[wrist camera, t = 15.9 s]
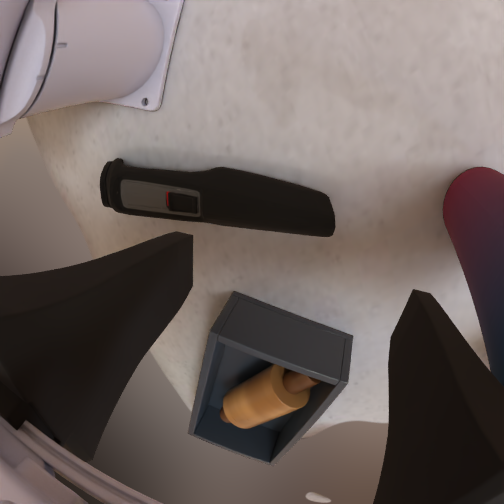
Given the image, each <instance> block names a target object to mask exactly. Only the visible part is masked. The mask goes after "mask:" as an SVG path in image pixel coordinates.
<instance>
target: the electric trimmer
mask: <svg viewBox="0 0 504 504" xmlns="http://www.w3.org/2000/svg"><path fill="white" fill-rule="evenodd" d="M100 191H101V199H102V203H103V205H104V206H105V207H110V208H113V209H114V210H115V211H116V212H118V213H124V214H128V215H136V216H144V217H154V218H163V219H172V220H181V221H192V222H204V223H211V224H216V225H222V226H230V227H239V228H248V229H257V230H265V231H274V232H282V233H290V234H300V235H309V236H320V237H330V236H332V235H333V233H334V230H335V215H334V211H333V208H332V205H331V202H330V199H329V197H328V196H327V195H326V194H324V193H322V192H319V191H316V190H313V189H310V188H306V187H303V186H300V185H296V184H293V183H289V182H285V181H281V180H277V179H273V178H269V177H266V176H262V175H257V174H253V173H249V172H245V171H241V170H235V169H230V168H225V167H218V168H214V169H211V170H208V171H200V172H181V171H170V170H159V169H147V168H137V167H130V166H125V165H124V164H123V160H122V159H119V158H117V159H115V160H114V161H109V162H107V163H106V165H105V166H104V168H103V171H102V173H101V177H100Z"/></svg>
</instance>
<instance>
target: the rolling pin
mask: <svg viewBox="0 0 504 504" xmlns="http://www.w3.org/2000/svg"><path fill="white" fill-rule="evenodd" d="M320 382H321V380H318V379H315V378H312V377H309V376H307V375H304V374H301V373H298V372H295V371H292V370H290V369H287V368H284V367H282V366H279V365H276V364H273V365H271V366H270V367H268V368H266V369H265V370H263V371H261V372H260V373H258V374H256V375H254V376H253V377H251V378H249V379H247V380H246V381H244V382H242V383H240V384H239V385H237V386H235V387H233V388H231V389H230V390H228V391H227V393H226V394H225V396H224V399H223V407H221V409H220V412H219V414H220V417H221V419H222V420H223V421H224V422H226V423H232V424H234V425H235V426H237V427H239V428H243V429H248V428H252V427H255V426H257V425H260V424H263V423H265V422H268V421H270V420H273V419H275V418H278V417H280V416H283V415H285V414H288V413H290V412H292V411H295V410H297V409H299V408H302V407H303V406H305V405H306V404H307V402H308V400H309V397H310V387H312V386H314V385H316V384H318V383H320Z"/></svg>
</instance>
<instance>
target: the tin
mask: <svg viewBox="0 0 504 504" xmlns="http://www.w3.org/2000/svg"><path fill="white" fill-rule="evenodd" d="M352 342H353V336H352V335H349V334H346V333H343V332H341V331H338V330H335V329H332V328H330V327H327V326H324V325H321V324H319V323H316V322H313V321H311V320H308V319H305V318H303V317H300V316H297V315H295V314H292V313H289V312H287V311H284V310H281V309H279V308H276V307H274V306H271V305H268V304H266V303H263V302H261V301H258V300H256V299H253V298H250V297H248V296H245V295H243V294H240V293H238V292H235V291H234V292H233V293H232V295H231V297H230V298H229V300H228V301H227V303H226V305H225V306H224V308H223V310H222V311H221V313H220V315H219V316H218V318H217V320H216V321H215V323H214V325H213V326H212V328H211V330H210V331H209V336H208V340H207V345H206V349H205V354H204V358H203V363H202V367H201V372H200V377H199V381H198V386H197V391H196V396H195V400H194V405H193V410H192V415H191V420H190V424H189V430H188V434H190V435H193V436H194V437H197V438H199V439H201V440H204V441H206V442H208V443H211V444H213V445H216V446H218V447H221V448H223V449H226V450H228V451H231V452H234V453H236V454H239V455H242V456H244V457H247V458H250V459H253V460H256V461H259V462H262V463H265V464H268V465H271V466H274V465H275V464H276V463H277V462H278V461H279V460H280V459H281V458H282V457H283V456H284V455H285V454H286V453H287V452H288V451H289V450H290V449H291V448H292V447H293V446H294V444H296V443H297V442H298V441H299V440H300V439H301V438H302V436H303V435H304V434H305V433H306V432H307V431H308V430H309V429H310V428H311V427H312V425H313V424H314V423H315V422H316V421H317V420H318V419H319V418H320V416H321V415H322V414H323V413H324V412H325V411H326V409H327V408H328V407H329V406H330V405H331V404H332V402H333V401H334V400H335V399H336V398H337V396H338V395H339V394H340V393H341V391H342V390H343V389H344V388H345V386H346V385H347V384H348V380H349V371H350V362H351V352H352ZM273 364H276V365H279V366H282V367H284V368H287V369H290V370H292V371H295V372H298V373H301V374H304V375H307V376H309V377H312V378H315V379H318V380H321V382H320V383H318V384H316V385H314V386H312V387H310V397H309V400H308V402H307V404H306V405H305V406H303V407H302V408H299V409H297V410H295V411H292V412H290V413H288V414H285V415H283V416H280V417H278V418H275V419H273V420H270V421H268V422H265V423H263V424H260V425H257V426H255V427H252V428H248V429H243V428H239V427H237V426H235V425H234V424H232V423H226V422H224V421H223V420H222V419H221V417H220V414H219V412H220V409H221V407H223V399H224V396H225V394H226V393H227V391H228V390H230V389H231V388H233V387H235V386H237V385H239V384H240V383H242V382H244V381H246V380H247V379H249V378H251V377H253V376H254V375H256V374H258V373H260V372H261V371H263V370H265V369H266V368H268V367H270V366H271V365H273Z"/></svg>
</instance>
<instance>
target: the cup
mask: <svg viewBox="0 0 504 504" xmlns="http://www.w3.org/2000/svg"><path fill="white" fill-rule="evenodd" d="M443 218H444V222H445V226H446V228H447V230H448V233H449V235H450V238H451V240H452V243H453V245H454V248H455V250H456V253H457V256H458V258H459V261H460V264H461V266H462V269H463V272H464V275H465V278H466V281H467V284H468V287H469V290H470V293H471V296H472V299H473V303H474V306H475V309H476V313H477V316H478V320H479V323H480V327H481V331H482V335H483V339H484V343H485V347H486V351H487V356H488V360H489V365H490V370H491V373H492V374H493V375H494V376H495V377H496V378H497V380H498V381H499V382H500V383H501V384H502V385H503V386H504V175H503V174H501V173H499V172H497V171H495V170H493V169H491V168H486V167H476V168H472V169H469V170H467V171H465V172H463V173H462V174H460V175H459V176H458V177H457V178H456V179H455V180H454V181H453V183H452V184H451V185H450V187H449V189H448V191H447V193H446V196H445V199H444V205H443Z"/></svg>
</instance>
